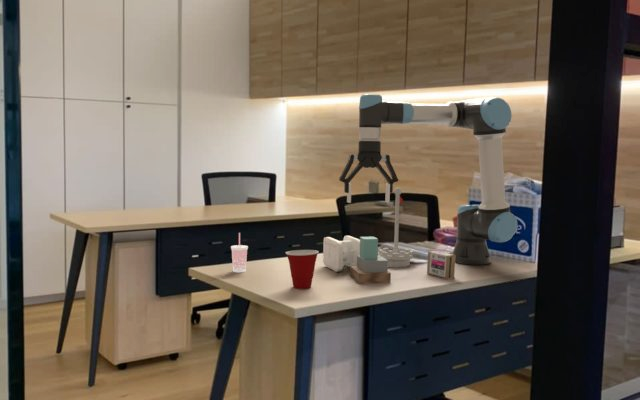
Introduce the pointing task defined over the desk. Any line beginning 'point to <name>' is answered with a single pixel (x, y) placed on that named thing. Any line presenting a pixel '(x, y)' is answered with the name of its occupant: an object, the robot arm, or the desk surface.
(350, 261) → the cable organizer
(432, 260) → the ink box
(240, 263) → the beverage cup
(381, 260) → the grey slab
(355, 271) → the walnut slab
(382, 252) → the flag stand
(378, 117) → the robot arm
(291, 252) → the plastic cup
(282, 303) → the desk surface
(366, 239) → the teal block
